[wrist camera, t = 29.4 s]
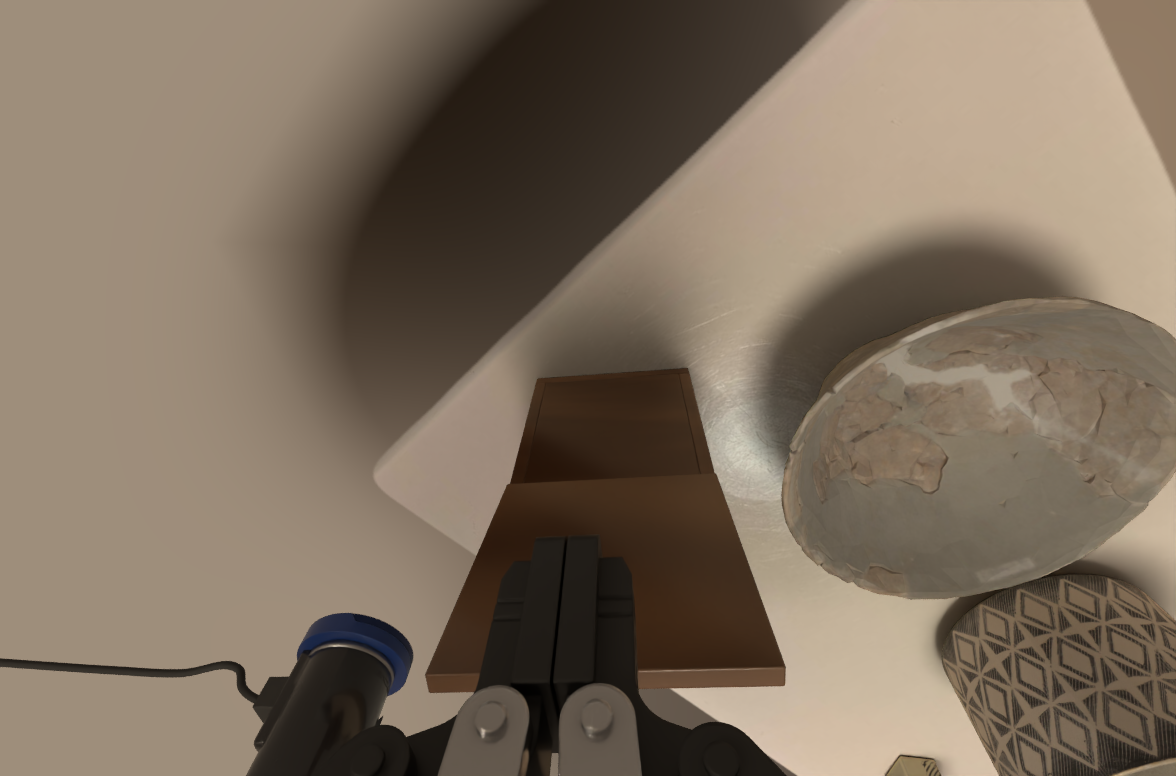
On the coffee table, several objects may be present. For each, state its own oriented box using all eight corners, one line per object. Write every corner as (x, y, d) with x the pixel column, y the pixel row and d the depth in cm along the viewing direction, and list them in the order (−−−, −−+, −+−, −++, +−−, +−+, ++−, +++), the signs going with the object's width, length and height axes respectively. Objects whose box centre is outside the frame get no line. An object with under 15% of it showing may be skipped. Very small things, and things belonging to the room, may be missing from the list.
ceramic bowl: (1122, 392, 41) (1260, 476, 32) (850, 544, 49) (900, 643, 41) (981, 166, 34) (1109, 196, 25) (691, 390, 42) (711, 470, 34)
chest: (689, 496, 47) (712, 623, 36) (557, 502, 48) (540, 628, 37) (687, 367, 41) (715, 474, 30) (536, 378, 42) (509, 485, 31)
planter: (1064, 696, 59) (1208, 895, 45) (894, 669, 58) (986, 863, 44) (1193, 574, 49) (1429, 776, 35) (992, 540, 48) (1151, 733, 34)
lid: (785, 687, 17) (786, 666, 17) (428, 694, 18) (424, 674, 18) (716, 485, 30) (716, 472, 30) (508, 496, 31) (507, 483, 31)
